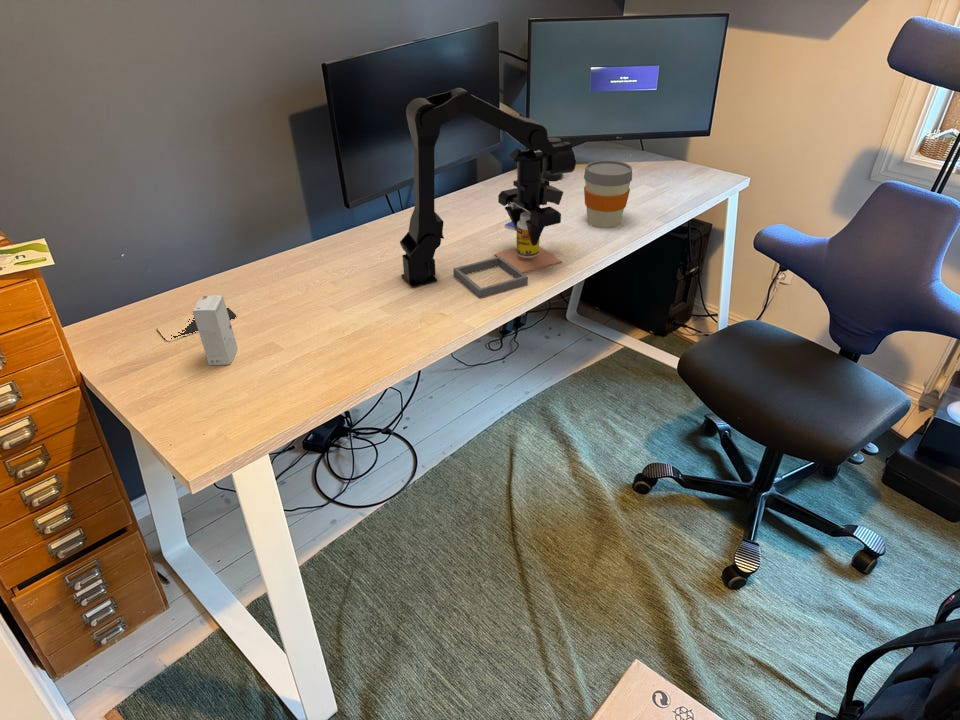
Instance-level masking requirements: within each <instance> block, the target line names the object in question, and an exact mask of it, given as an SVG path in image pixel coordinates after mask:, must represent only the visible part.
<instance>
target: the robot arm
mask: <svg viewBox="0 0 960 720" xmlns="http://www.w3.org/2000/svg"><path fill="white" fill-rule="evenodd" d="M463 113H466V114H468V115H470V116H473V117H475V118H477V119H478V120H480V121H482V122H484V123H486V124H488V125H491V126H493V127H494V128H497V129H499V130H500V131H503V132H505V134H507V135H508V136H510V137H511V139H513V140H514V141H515V142H517V143H519V144H520V145H521V146H523V147H524V148H526V149H527V150H525V149H524V150H521V149H520V148H518V147H515V148H514V150H513V151H512V152H510V153H509V154H508V158H509V159H510V160H511V161H513V162H515V163H516V164H517V165H516V166H517V171H516V172H517V173H516V175H517V176H516V180H513V186H514V188H509V189H505V190H501V191H500V192H499V194H498V196H497V197H498V203H499V204H500V205H502V206H503V207H504V210H505V211H506V212H507V214H508V216H509V219H510V221H512V223H513V225H514V227H515V229H516V231H515V232H517V222H518V221H519V220H520V215H521V213H523V212H530V213H531V214H530V220H528V221H526V224H527V228H528V232H529V236H530V240H531V243H532V245H533V246H534V245H537V242H538V240H539V241H540V237H541V236H542V232H543V231H544V228H545V227H549V226H554V225H559V224H561V222H562V213H560V212H559V210H558V209H555V208H553V207H552V206H547V205H548V203H551V204H554V205H558V206H559V205H560V203H561V200H562V197H563V196H564V195H563V194H564V191H562V189H561V190H560V189H559V188H557V187H555V186H552V185H550V181H547V180H545V179H542V169H543V171H546V173H547V174H548V175H556V174H570V173H573V172H574V171H575V169H576V164H577V163H576V162H577V161H576V157H575V156H576V155H575V153H574V150H573V144H572V143H570V142H569V141H564V142H561V144H554V145H552V144H551V143H550V141H549V140H548V138H549V137H548V129H547V128H546V127H545V126H544V125H542V124H540V123H539V122H536V120H534V119H532V118H529V117H525V116H521V115H517V114H512V113H509V112H506V111H504V110H503V109H501V108H498V107H497V106H494V105H493V104H490V103H489V102H487V101H484V100H483V99H480V98H479V97H477V96H475V95H473V94H471V93H470V92H469V91H468V90H466V89H464V88H462V87H455V88H454V89H450V90H448V91H446V92H445V91H444V92H442V93H436V94H432V95H430V96H427V97H417V98H414V99H412V100H411V101H410V102H409V103H408V104H407V106H406V109H405V116H406V120H407V125H408V129H409V132H410V133H409V135H410V136H411V140H412V143H413V183H414V185H413V186H414V187H413V188H414V191H413V192H414V206H413V207H414V209H413V211H412V213H411V216H410V220H409V226H408V232H407V233H406V234H405V235H404V236H403V237H402V239H401V240H400V241H399V245H400V247H401V249H402V250H403V251H404V253H405V254H402V264H403V265H402V267H403V274H401V278H402V279H403V280H404V282H406V283H407V284H408V285H409V286H410V287H411V288H416V287H420V286H423V285H427V284H431V283H434V282H438V278H437V277H436V259H434V256H435V254H436V251H437V249H438V248H439V247H440V246H441V243H442V239H443V240H444V239H445V237H444V234H443V229H444V220H443V219H442V218H441V216H440V215H439V214H437V212H436V211H435V148H436V145H437V143H438V142H437V141H438V139H439V137H440V133H441V128H442V125H445V124H447V123H449V122H451V121H452V120H453V119H455V118H456V117H457V116H458V115H460V114H463ZM541 206H545V207H542V208H541Z"/></svg>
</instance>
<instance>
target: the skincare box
mask: <svg viewBox="0 0 960 720" xmlns="http://www.w3.org/2000/svg"><path fill="white" fill-rule="evenodd" d="M226 306H227V304H226V302H225V299H224V296H223V295H221V294H220V295H219V294H217V295H204V296H201V298H199V300H198V301H197V302H196V304H195V307H194V308H193V309H192V315H194V318H195V321H196V325H197V328H198V331H199V332H198V334H199V337H200V341H201V343H202V347H203V350H204V353H205V356H206V360H207V364H208V365H209V366H227V365H230V364H232V361H233V360H234V358H235V356H236V354H237V352H238V345H237V341H236V337H235V334H234V330H233V327H232V323H231V321H230V319H229V316H228V312H227V309H226Z"/></svg>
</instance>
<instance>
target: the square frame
mask: <svg viewBox="0 0 960 720" xmlns="http://www.w3.org/2000/svg"><path fill="white" fill-rule="evenodd" d="M498 265H499V266H500V267H499V266H498ZM495 266H496V267H499V268H501V269H502V270H503V271H505V272H506V273H507V274H508V275H510V276H511V277H513V278H512V279H509V280H505V281H502V282H498V283H494V284H490V285H487V286H484V287H483V286H482V287H481V286H479V285H478V284H477V283H476V282H475V281H473V280H472V279H471V278H470V277H469V276H467V275H469V273H470V274H473V273H472V272H474V273H477V272H481V271H484V270H488V268H489V269H491V268H495ZM452 269H453V277H454V278H456V280H458V281H459V282H460V283H461V284H462V283H463V286H465V288H467V289H468V290H470V291H471V292H472V293H473V294H474V295H475V296H476V297H478V298H479V299H481V298H486V297H490V296H493V295H496V294H500V293H502V292H507V291H511V290H514V289H517V288H520V287H523V286H528V285H529V281H528V279H529V276H527V275H526V273H522V272H521V271H519V270H518V269H516V268H515V267H514V266H512V265H511V264H510V263H508V262H507V261H505V260H504V259H503V258H501V257H500V256H499V257H495V256H494V257H492V258H488V259H484V260H480V261H476V262H473V263H469V264H466V265H461V266H458V267H454V268H452ZM480 270H481V271H480ZM476 271H477V272H476ZM465 274H466V275H465Z"/></svg>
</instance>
